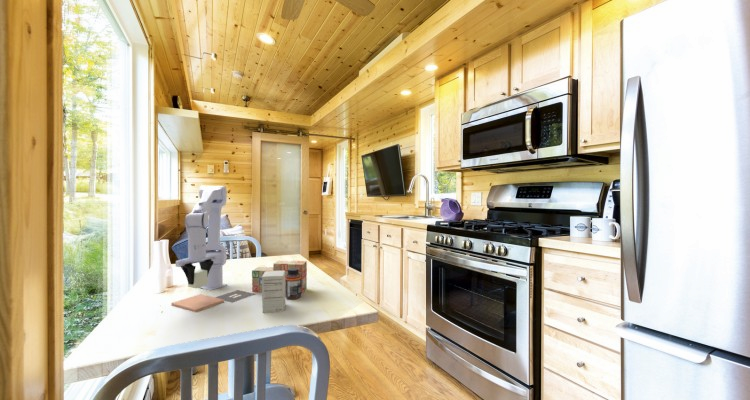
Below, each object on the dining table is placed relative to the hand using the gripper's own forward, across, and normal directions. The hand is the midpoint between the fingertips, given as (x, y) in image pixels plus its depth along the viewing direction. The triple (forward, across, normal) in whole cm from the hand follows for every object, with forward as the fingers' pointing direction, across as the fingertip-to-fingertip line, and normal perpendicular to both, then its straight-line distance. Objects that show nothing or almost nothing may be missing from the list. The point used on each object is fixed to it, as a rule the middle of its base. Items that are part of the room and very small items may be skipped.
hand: (197, 282), depth 115 cm
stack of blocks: (+8, +26, -15) cm, 31 cm away
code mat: (+8, +12, -5) cm, 15 cm away
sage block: (+1, 0, 0) cm, 1 cm away
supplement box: (+8, +10, -28) cm, 31 cm away
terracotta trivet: (+8, 0, 0) cm, 8 cm away
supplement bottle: (+8, +22, -26) cm, 35 cm away
